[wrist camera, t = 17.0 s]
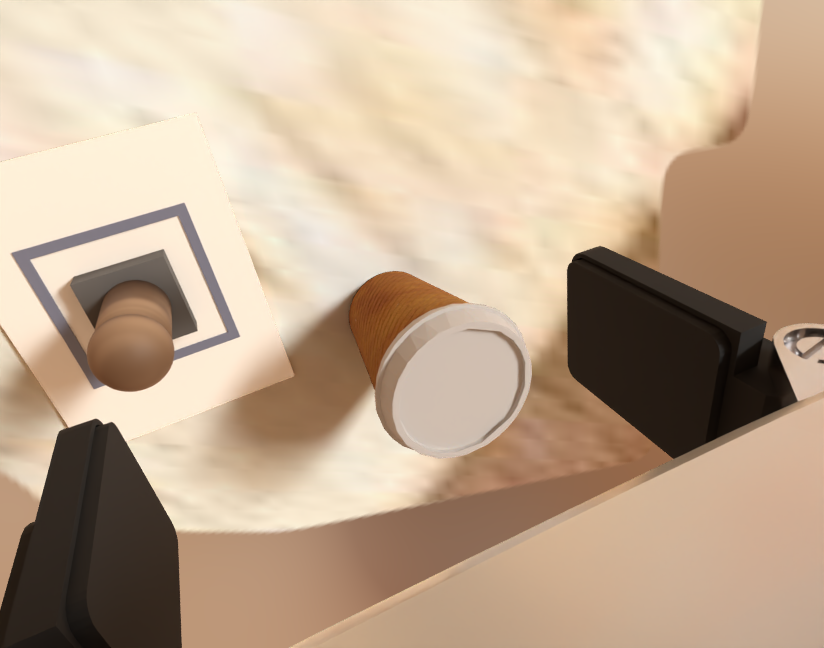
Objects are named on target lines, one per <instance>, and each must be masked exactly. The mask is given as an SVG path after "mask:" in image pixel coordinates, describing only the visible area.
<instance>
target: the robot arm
mask: <svg viewBox="0 0 824 648" xmlns="http://www.w3.org/2000/svg"><path fill="white" fill-rule="evenodd" d="M567 318H568V367H569V370H570V373H571V374H572V376H573V377H574V378H575V379H576V380H577V381H578V382H579V383H581V384H582V385H583V386H584V387H586V388H587V389H588V390H589V391H590V392H592V393H593V394H594V395H595V396H597V397H598V398H599V399H600V400H602V401H603V402H604V403H605V404H606V405H608V406H609V407H610V408H611V409H613V410H614V411H615V412H616V413H618V414H619V415H620V416H621V417H623V418H624V419H625V420H626V421H627V422H629V423H630V424H631V425H632V426H634V427H635V428H636V429H637V430H639V431H640V432H641V433H642V434H644V435H645V436H646V437H647V438H648V439H650V440H651V441H652V442H653V443H655V444H656V445H657V446H658V447H660V448H661V449H662V450H663V451H664V452H666V453H667V454H668V455H669V456H671V457H672V458H673V460H671V461H669V462H667V463H665V464H663V465H661V466H658V467H656V468H654V469H652V470H650V471H648V472H646V473H644V474H642V475H640V476H638V477H636V478H633V479H631V480H629V481H627V482H625V483H623V484H621V485H619V486H617V487H615V488H613V489H611V490H609V491H606V492H605V493H602V494H600V495H598V496H596V497H594V498H592V499H590V500H588V501H586V502H584V503H582V504H580V505H578V506H576V507H574V508H571V509H569V510H567V511H565V512H563V513H561V514H559V515H557V516H555V517H553V518H551V519H549V520H547V521H545V522H543V523H541V524H538V525H536V526H535V527H532V528H530V529H528V530H526V531H524V532H522V533H520V534H518V535H516V536H514V537H512V538H510V539H508V540H506V541H504V542H502V543H500V544H498V545H495V546H493V547H491V548H489V549H487V550H485V551H483V552H481V553H479V554H477V555H475V556H473V557H471V558H469V559H467V560H465V561H463V562H461V563H459V564H457V565H455V566H453V567H450V568H448V569H447V570H444V571H442V572H440V573H438V574H436V575H434V576H432V577H430V578H428V579H427V580H424V581H422V582H420V583H418V584H416V585H414V586H412V587H410V588H408V589H406V590H404V591H402V592H400V593H398V594H396V595H394V596H392V597H390V598H388V599H386V600H384V601H382V602H380V603H378V604H375V605H374V606H371V607H370V608H367V609H365V610H363V611H361V612H359V613H357V614H355V615H353V616H351V617H349V618H347V619H345V620H343V621H341V622H339V623H337V624H335V625H333V626H331V627H329V628H327V629H325V630H323V631H321V632H319V633H317V634H315V635H313V636H311V637H309V638H307V639H305V640H303V641H301V642H299V643H297V644H295V645H294V646H291V647H290V648H824V325H822V324H811V323H810V324H795V325H790V326H787V327H784V328H782V329H780V330H778V331H777V332H776V334H775V335H774V337H773V341H770V340H768V339H765V338H763V336H764V332H765V327H766V323H767V322H766V321H763V320H761V319H759V318H757V317H755V316H753V315H750V314H748V313H746V312H744V311H742V310H739V309H737V308H735V307H733V306H731V305H729V304H727V303H724V302H722V301H720V300H718V299H716V298H713V297H711V296H709V295H707V294H705V293H703V292H700V291H698V290H696V289H694V288H692V287H690V286H687V285H685V284H683V283H681V282H679V281H677V280H674V279H672V278H670V277H668V276H666V275H664V274H661V273H659V272H657V271H655V270H653V269H650V268H648V267H646V266H644V265H642V264H640V263H637V262H635V261H633V260H631V259H629V258H627V257H624V256H622V255H620V254H618V253H616V252H614V251H611V250H609V249H607V248H605V247H601V246H599V247H595V248H592V249H590V250H587V251H584V252H581V253H578V254H576V255H575V256H574V257H573V259H572V263H570V264H569V266H568V269H567ZM0 648H182V643H181V614H180V585H179V557H178V540H177V535H176V531H175V528H174V526H173V524H172V522H171V520H170V518H169V517H168V515H167V513H166V511H165V510H164V508H163V506H162V504H161V503H160V501H159V499H158V497H157V496H156V494H155V492H154V490H153V489H152V487H151V485H150V483H149V482H148V480H147V478H146V476H145V475H144V473H143V471H142V469H141V468H140V466H139V464H138V462H137V461H136V459H135V457H134V455H133V454H132V452H131V450H130V448H129V447H128V445H127V443H126V441H125V440H124V438H123V436H122V434H121V433H120V431H119V429H118V427H117V426H116V425H115V424H114V423H113V422H109V423H107V424H104V425H103V423H102V422H101V421H100V420H99V419H93V420H90V421H87V422H84V423H81V424H78V425H75V426H72V427H69V428H66V429H63V430H61V431H59V433H58V436H57V440H56V443H55V447H54V451H53V455H52V459H51V462H50V466H49V470H48V474H47V478H46V482H45V485H44V489H43V493H42V497H41V501H40V504H39V509H38V512H37V516H36V520H35V522H32V523H30V524H29V525H28V526H26V527H25V529H24V531H23V533H22V535H21V538H20V542H19V545H18V549H17V553H16V556H15V559H14V563H13V567H12V570H11V574H10V577H9V581H8V584H7V588H6V591H5V595H4V598H3V602H2V606H1V609H0Z"/></svg>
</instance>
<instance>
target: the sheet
mask: <svg viewBox="0 0 824 648" xmlns="http://www.w3.org/2000/svg"><path fill="white" fill-rule="evenodd" d="M162 249H164V251H165V253H166V255H167V257H168V260H169V262H170V264H171V266H172V268H173V271H174V273H175V275H176V277H177V279H178V282H179V284H180V286H181V288H182V290H183V293H184V295H185V297H186V299H187V301H188V304H189V306H190V308H191V310H192V312H193V315H194V317H195V319H196V321H197V329H198V331H196V332H193V333H191V334H188V335H185V336H182V337H179V338H176V339H174V340H173V344H174V360H173V364H172V366H171V368H170V370H169V372H168V373H167V374H166V376H165V377H164V378H163V379H162V380H161V381H160V382H158V383H157V384H155V385H154V386H152V387H150V388H147V389H144V390H141V391H136V392H124V391H118V390H115V389H112V388H110V387H108V386H106V385H104V384H103V383H101V382H100V381H99V380H98V379H97V378H96V377H95V376H94V374H93V373H92V371H91V369H90V367H89V364H88V361H87V347H88V343H89V340H90V338H91V336H92V334H93V333H94V330H95V329H94V327H93V326H92V324H91V322H90V320H89V319H88V317H87V315H86V313H85V311H84V310H83V308H82V306H81V304H80V303H79V301H78V299H77V297H76V296H75V294H74V292H73V290H72V289H71V287H70V284H71V282H72V279H73V277H74V276H78V275H81V274H84V273H87V272H91V271H94V270H97V269H100V268H104V267H107V266H110V265H113V264H117V263H120V262H123V261H126V260H129V259H133V258H136V257H139V256H142V255H146V254H149V253H152V252H155V251H159V250H162ZM0 325H1V326H2V328H3V329H4V331H5V332H6V334H7V335H8V337H9V338H10V340H11V341H12V343H13V344H14V346H15V347H16V349H17V350H18V352H19V353H20V355H21V356H22V358H23V359H24V361H25V362H26V364H27V365H28V367H29V368H30V370H31V371H32V373H33V374H34V376H35V377H36V379H37V380H38V382H39V384H40V385H41V387H42V388H43V390H44V391H45V393H46V394H47V396H48V397H49V399H50V400H51V402H52V403H53V405H54V406H55V408H56V409H57V411H58V412H59V414H60V415H61V417H62V418H63V420H64V421H65V423H66V424H67V426H68V427H72V426H75V425H78V424H81V423H84V422H87V421H90V420H93V419H99V420H100V421H101V422H102V423H103V425H104V424H107V423H109V422H113V423H114V424H115V425H116V426H117V427H118V429H119V431H120V433H121V434H122V436H123V438H124V440H125V441H126V442H127V441H129V440H132V439H134V438H137V437H140V436H142V435H145V434H147V433H150V432H152V431H155V430H158V429H160V428H163V427H165V426H168V425H171V424H173V423H176V422H178V421H181V420H183V419H186V418H189V417H191V416H194V415H196V414H199V413H201V412H204V411H207V410H209V409H212V408H214V407H217V406H219V405H222V404H225V403H227V402H230V401H232V400H235V399H237V398H240V397H243V396H245V395H248V394H250V393H253V392H256V391H258V390H261V389H263V388H266V387H268V386H271V385H274V384H276V383H279V382H281V381H284V380H286V379H289V378H292V377H294V376H295V375H294V372H293V370H292V367H291V364H290V362H289V359H288V356H287V354H286V351H285V348H284V346H283V343H282V340H281V338H280V335H279V332H278V330H277V327H276V324H275V321H274V319H273V316H272V313H271V311H270V308H269V305H268V303H267V300H266V297H265V295H264V292H263V289H262V287H261V284H260V281H259V279H258V276H257V273H256V271H255V268H254V265H253V263H252V260H251V257H250V255H249V252H248V249H247V247H246V244H245V241H244V239H243V236H242V233H241V231H240V228H239V225H238V223H237V220H236V217H235V215H234V212H233V209H232V206H231V204H230V201H229V198H228V196H227V193H226V190H225V188H224V185H223V182H222V180H221V177H220V174H219V172H218V169H217V166H216V164H215V161H214V158H213V156H212V153H211V150H210V148H209V145H208V142H207V140H206V137H205V134H204V132H203V129H202V126H201V124H200V121H199V118H198V116H197V113H192V114H188V115H184V116H180V117H176V118H172V119H168V120H164V121H160V122H156V123H152V124H148V125H144V126H140V127H136V128H132V129H128V130H124V131H120V132H116V133H112V134H108V135H104V136H100V137H96V138H92V139H88V140H84V141H80V142H76V143H72V144H68V145H65V146H61V147H57V148H53V149H49V150H45V151H41V152H37V153H33V154H29V155H25V156H21V157H17V158H13V159H9V160H5V161H1V162H0Z"/></svg>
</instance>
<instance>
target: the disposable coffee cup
mask: <svg viewBox="0 0 824 648" xmlns="http://www.w3.org/2000/svg"><path fill="white" fill-rule="evenodd" d="M349 323H350V327H351V330H352V332H353V335H354V337H355V340H356V343H357V345H358V348H359V350H360V353H361V356H362V358H363V361H364V363H365V366H366V368H367V371H368V373H369V376H370V379H371V382H372V384H373V387H374V389H375V401H376V411H377V414H378V416H379V418H380V420H381V423H382V425H383V427H384V429H385V430H386V431H387V433H388V434H389V435H390V436H391V437H392V438H393V439H394V440H395V441H397V442H398V443H400V444H401V445H402V446H404V447H407V448H410V449H412V450H415V451H417V452H418V453H420V454H421V455H426V456H430V457H435V458H454V457H458V456H462V455H466V454H469V453H471V452H473V451H475V450H477V449H479V448H481V447H483V446H485V445H487V444H489V443H490V442H491V441H493V440H494V439H495V438H497V437H498V436H499V435H500V434H501V433H502V432H503V431H504V430H505V429H506V428H507V427H508V426H509V425H510V424H511V423H512V422H513V420H514V419H515V418H516V416H517V415H518V413H519V411H520V410H521V408H522V406H523V404H524V402H525V399H526V397H527V395H528V392H529V387H530V382H531V377H532V370H531V360H530V356H529V352H528V350H527V348H526V345H525V342H524V339H523V336H522V334H521V332H520V330H519V329H518V327H517V326H516V324H515V323H514V322H513V321H512V320H511V319H510V318H509V317H508V316H507V315H506V314H504V313H502V312H500V311H498V310H497V309H495V308H492V307H489V306H486V305H482V304H473V303H468V302H466V301H464V300H462V299H459V298H458V297H455V296H454V295H451V294H449V293H448V292H445V291H443V290H441V289H439V288H437V287H435V286H433V285H431V284H429V283H427V282H424V281H422V280H420V279H418V278H416V277H414V276H412V275H411V274H408V273H405V272H399V271H392V272H385V273H382V274H379V275H377V276H375V277H373V278H372V279H370V280H368V281H367V282H366V283H365V284H364V285H363V286H362V287H361V288H360V289H359V290H358V291H357V293H356V295H355V296H354V298H353V301H352V303H351V306H350V311H349Z"/></svg>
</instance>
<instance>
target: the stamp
mask: <svg viewBox="0 0 824 648" xmlns="http://www.w3.org/2000/svg"><path fill="white" fill-rule="evenodd" d="M70 287H71V289H72V290H73V292H74V294H75V296H76V297H77V299H78V301H79V303H80V304H81V306H82V308H83V310H84V311H85V313H86V315H87V317H88V319H89V320H90V322H91V324H92V326H93V327H94V329H95V330H94V333H93V334H92V336H91V338H90V340H89V343H88V347H87V361H88V364H89V367H90V369H91V371H92V373H93V374H94V376H95V377H96V378H97V379H98V380H99V381H100V382H101V383H103V384H104V385H106V386H108V387H110V388H112V389H115V390H118V391H124V392H136V391H141V390H144V389H147V388H150V387H152V386H154V385H155V384H157V383H158V382H160V381H161V380H162V379H163V378H164V377H165V376H166V374H167V373H168V372H169V370H170V368H171V366H172V364H173V360H174V344H173V340H174V339H176V338H179V337H182V336H185V335H188V334H191V333H193V332H196V331H198V329H197V321H196V319H195V317H194V315H193V312H192V310H191V308H190V306H189V304H188V301H187V299H186V297H185V295H184V293H183V290H182V288H181V286H180V284H179V282H178V279H177V277H176V275H175V273H174V271H173V268H172V266H171V264H170V262H169V260H168V257H167V255H166V253H165V251H164V249H162V250H159V251H155V252H152V253H149V254H146V255H142V256H139V257H136V258H133V259H129V260H126V261H123V262H120V263H117V264H113V265H110V266H107V267H104V268H100V269H97V270H94V271H91V272H87V273H84V274H81V275H78V276H74V277H73V279H72V282H71V284H70Z"/></svg>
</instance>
